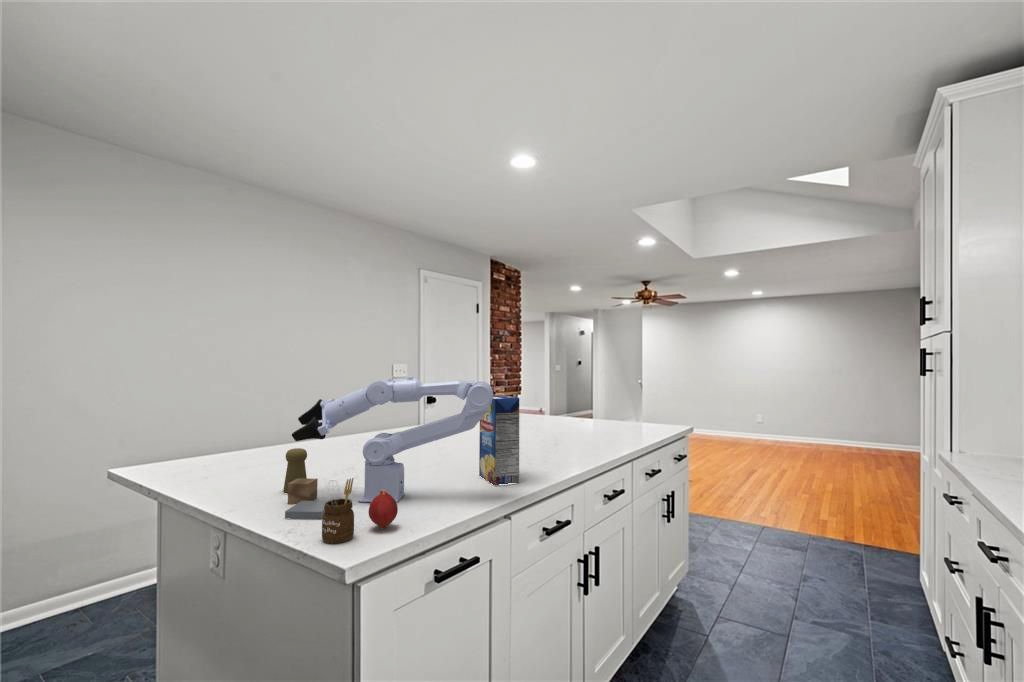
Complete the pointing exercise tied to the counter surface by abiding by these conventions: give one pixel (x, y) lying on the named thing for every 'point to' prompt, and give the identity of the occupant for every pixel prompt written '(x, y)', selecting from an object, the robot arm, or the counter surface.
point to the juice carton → (500, 441)
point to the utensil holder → (338, 518)
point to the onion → (383, 509)
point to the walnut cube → (302, 490)
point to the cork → (295, 466)
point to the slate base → (306, 510)
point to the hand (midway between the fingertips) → (297, 429)
